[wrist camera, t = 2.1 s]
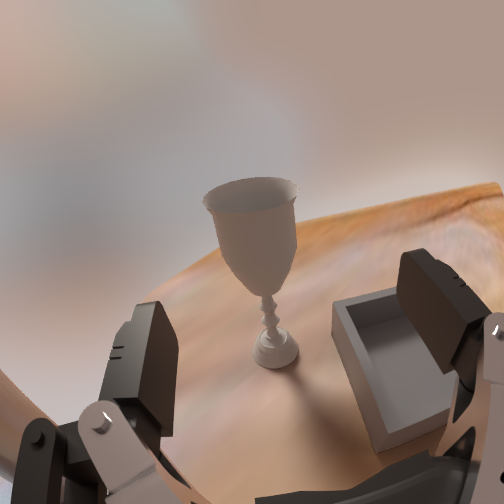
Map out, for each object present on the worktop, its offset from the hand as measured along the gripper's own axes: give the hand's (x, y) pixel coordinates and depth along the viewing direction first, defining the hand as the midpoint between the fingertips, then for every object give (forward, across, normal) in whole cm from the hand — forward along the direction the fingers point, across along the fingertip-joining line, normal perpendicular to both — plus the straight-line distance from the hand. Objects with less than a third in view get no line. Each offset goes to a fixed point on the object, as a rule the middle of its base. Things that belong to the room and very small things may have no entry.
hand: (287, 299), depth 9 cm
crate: (+7, -14, +20) cm, 25 cm away
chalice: (+14, 0, +20) cm, 24 cm away
